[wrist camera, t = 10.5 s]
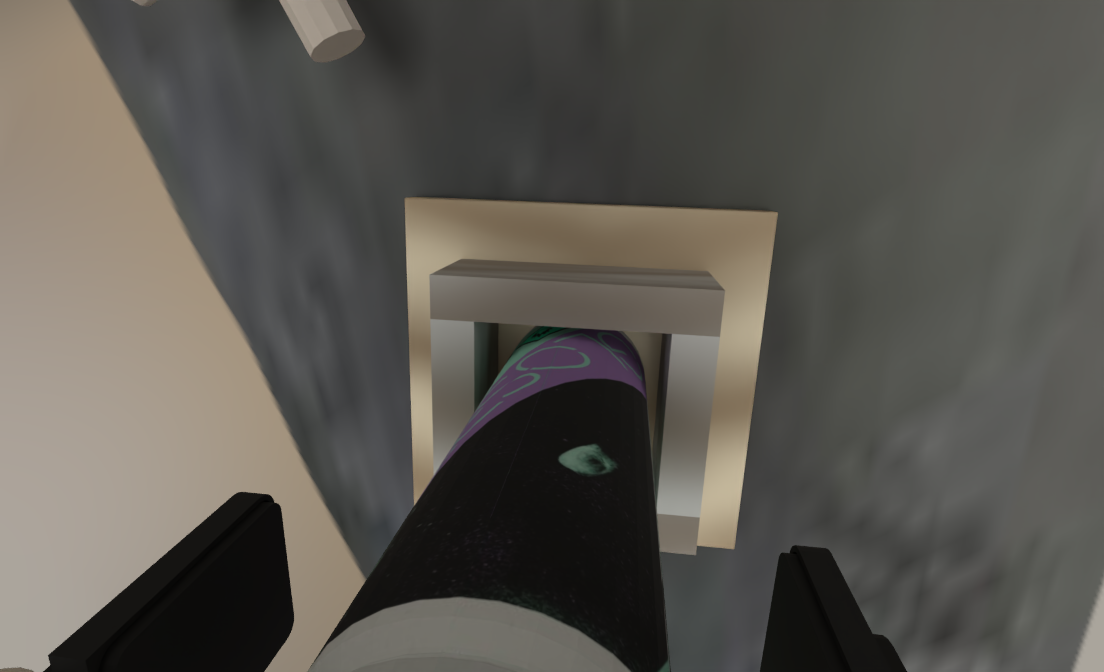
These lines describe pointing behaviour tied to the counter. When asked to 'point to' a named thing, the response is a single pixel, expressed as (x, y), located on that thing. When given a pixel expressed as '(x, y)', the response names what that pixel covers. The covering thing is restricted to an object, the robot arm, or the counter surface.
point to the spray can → (527, 531)
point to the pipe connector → (319, 26)
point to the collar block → (598, 303)
